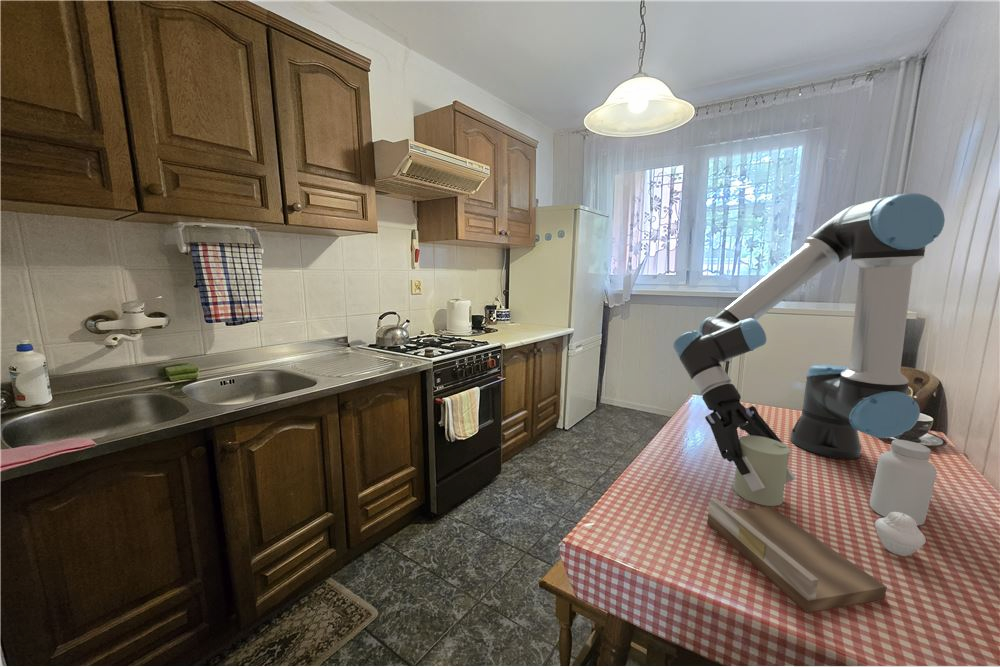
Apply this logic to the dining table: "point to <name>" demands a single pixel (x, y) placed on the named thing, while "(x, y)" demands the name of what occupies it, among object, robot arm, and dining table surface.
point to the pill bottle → (904, 481)
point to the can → (763, 469)
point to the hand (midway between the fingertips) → (774, 485)
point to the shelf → (794, 558)
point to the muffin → (899, 533)
